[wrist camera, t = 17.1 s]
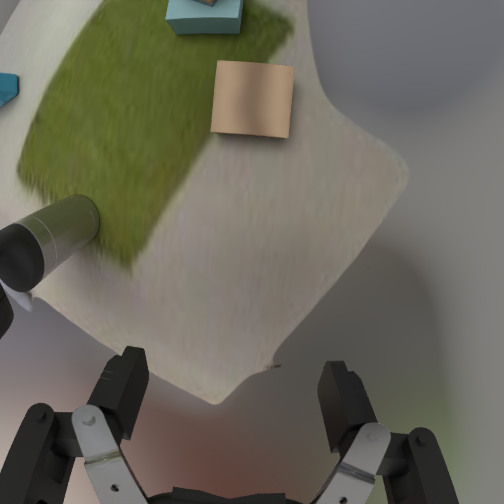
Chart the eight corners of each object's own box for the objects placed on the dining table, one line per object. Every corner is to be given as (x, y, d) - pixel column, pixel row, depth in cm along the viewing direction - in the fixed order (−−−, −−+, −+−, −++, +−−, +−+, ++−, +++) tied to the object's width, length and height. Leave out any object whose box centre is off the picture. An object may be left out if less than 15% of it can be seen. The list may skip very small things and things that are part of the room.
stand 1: (176, 34, 34) (165, 19, 28) (185, -12, 31) (176, -31, 24) (239, 34, 35) (238, 17, 28) (245, -13, 31) (244, -33, 25)
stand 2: (216, 133, 41) (210, 131, 35) (222, 72, 37) (217, 60, 31) (281, 138, 42) (288, 138, 35) (287, 77, 38) (294, 67, 31)
